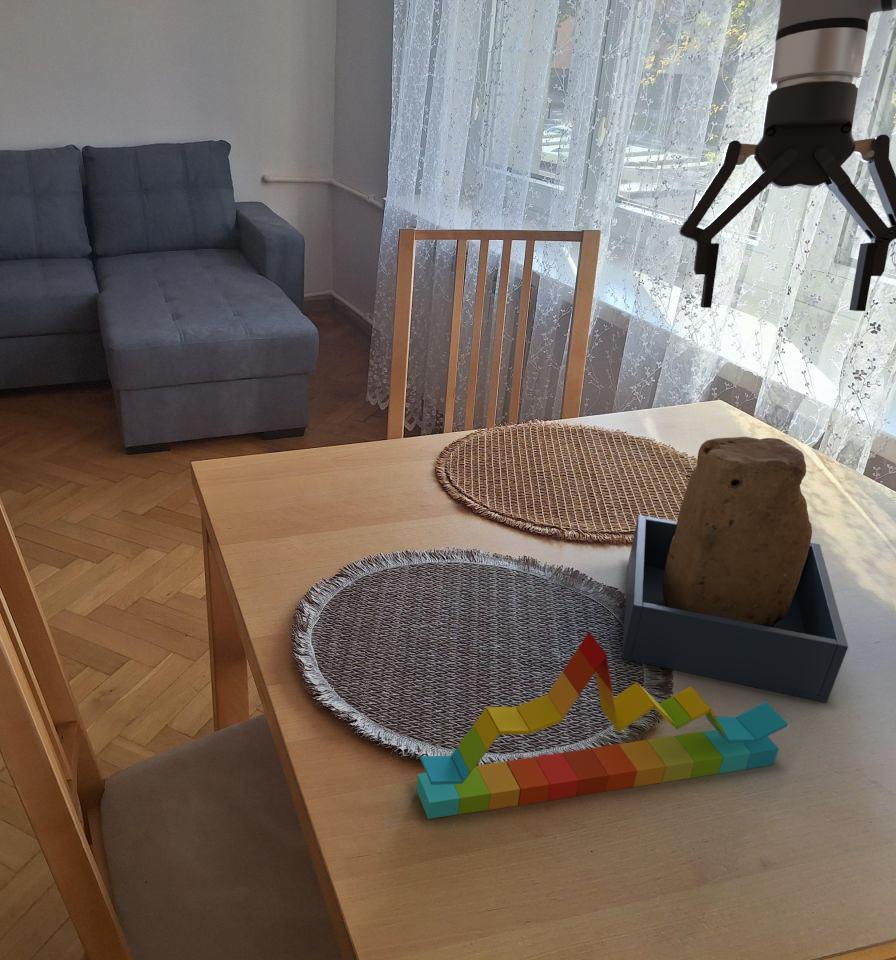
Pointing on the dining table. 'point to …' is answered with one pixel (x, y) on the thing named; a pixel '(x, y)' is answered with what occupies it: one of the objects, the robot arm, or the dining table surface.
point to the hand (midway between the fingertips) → (779, 309)
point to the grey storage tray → (732, 627)
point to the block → (740, 532)
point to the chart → (597, 769)
